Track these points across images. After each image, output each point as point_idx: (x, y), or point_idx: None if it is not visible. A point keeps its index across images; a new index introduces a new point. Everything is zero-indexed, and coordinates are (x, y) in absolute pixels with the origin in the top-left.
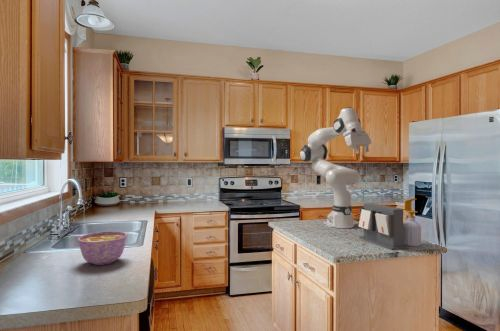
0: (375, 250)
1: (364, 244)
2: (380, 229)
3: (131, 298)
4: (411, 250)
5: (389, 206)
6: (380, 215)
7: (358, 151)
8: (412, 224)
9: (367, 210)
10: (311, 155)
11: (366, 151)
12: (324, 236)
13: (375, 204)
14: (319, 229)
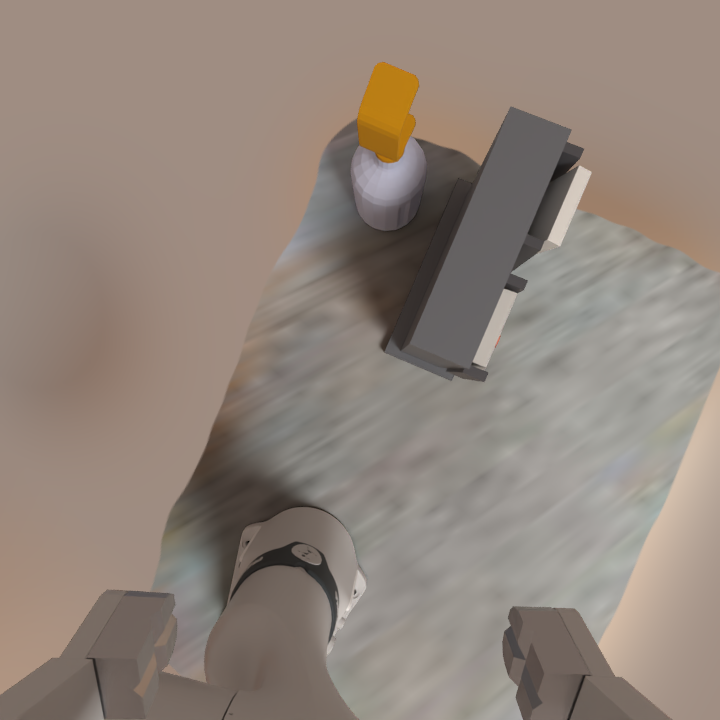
0: (570, 243)
1: (524, 313)
2: None
3: None
4: (471, 162)
5: (469, 205)
6: (576, 206)
7: (583, 628)
8: (415, 145)
9: (506, 319)
10: None
11: (167, 632)
12: (536, 494)
13: (452, 300)
14: (439, 593)
